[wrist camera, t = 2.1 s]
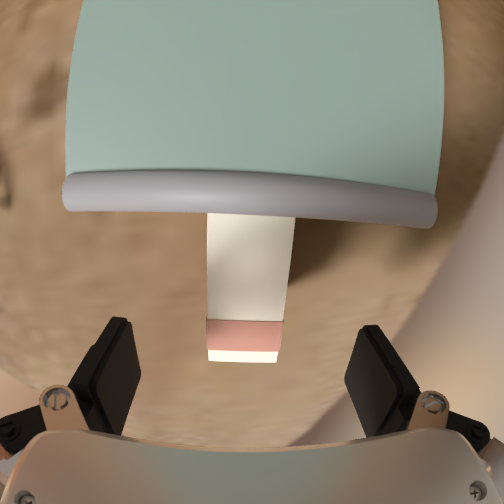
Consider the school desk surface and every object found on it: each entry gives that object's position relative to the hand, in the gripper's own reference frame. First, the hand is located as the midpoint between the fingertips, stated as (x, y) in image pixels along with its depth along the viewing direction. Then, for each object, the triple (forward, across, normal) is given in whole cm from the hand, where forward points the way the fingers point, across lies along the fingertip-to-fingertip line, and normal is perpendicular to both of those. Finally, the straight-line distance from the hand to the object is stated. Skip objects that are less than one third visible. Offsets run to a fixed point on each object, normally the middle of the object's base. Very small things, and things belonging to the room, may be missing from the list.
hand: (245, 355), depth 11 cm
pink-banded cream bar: (+6, 0, -5) cm, 8 cm away
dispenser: (+6, 0, -14) cm, 15 cm away
